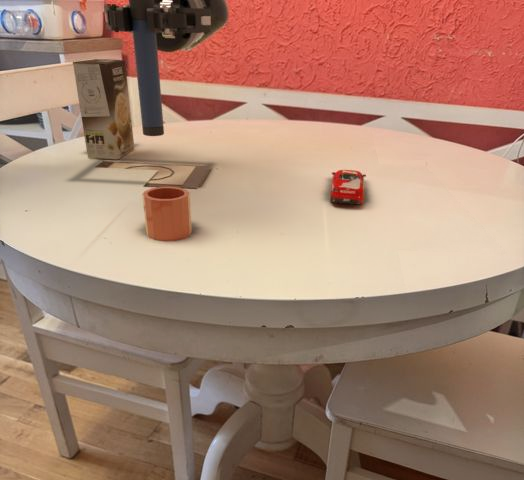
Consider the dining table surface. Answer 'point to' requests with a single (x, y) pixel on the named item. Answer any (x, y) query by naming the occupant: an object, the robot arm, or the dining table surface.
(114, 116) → the coffee box
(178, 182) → the sketch board
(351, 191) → the race car
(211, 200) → the dining table surface
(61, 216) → the dining table surface
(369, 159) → the dining table surface
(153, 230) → the pen pot
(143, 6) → the marker
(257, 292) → the dining table surface
